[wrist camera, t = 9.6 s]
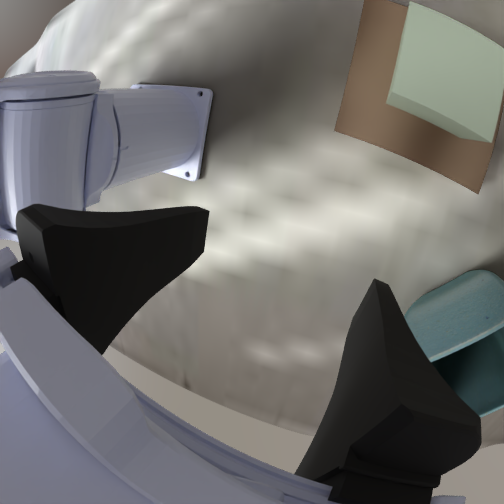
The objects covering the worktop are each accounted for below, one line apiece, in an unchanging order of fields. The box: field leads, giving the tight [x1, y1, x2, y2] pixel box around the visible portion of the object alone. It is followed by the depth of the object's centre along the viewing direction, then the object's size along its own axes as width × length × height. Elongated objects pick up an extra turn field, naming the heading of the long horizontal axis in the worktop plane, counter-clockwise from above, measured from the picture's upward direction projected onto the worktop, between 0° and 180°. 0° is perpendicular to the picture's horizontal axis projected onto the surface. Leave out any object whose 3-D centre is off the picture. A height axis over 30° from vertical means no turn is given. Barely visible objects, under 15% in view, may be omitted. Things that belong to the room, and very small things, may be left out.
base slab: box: [334, 0, 504, 194], centre depth 12 cm, size 10×10×2 cm
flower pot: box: [404, 270, 504, 418], centre depth 14 cm, size 9×9×9 cm
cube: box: [386, 1, 504, 143], centre depth 9 cm, size 5×5×5 cm
